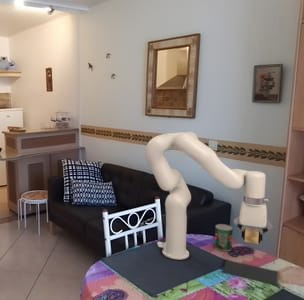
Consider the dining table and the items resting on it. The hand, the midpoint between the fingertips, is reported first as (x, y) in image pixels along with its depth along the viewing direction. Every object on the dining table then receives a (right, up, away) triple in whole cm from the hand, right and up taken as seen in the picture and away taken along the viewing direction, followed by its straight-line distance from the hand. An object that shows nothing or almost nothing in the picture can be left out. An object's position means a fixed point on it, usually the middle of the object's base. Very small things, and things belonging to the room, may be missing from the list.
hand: (251, 240), depth 138 cm
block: (0, 0, 0) cm, 0 cm away
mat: (0, -14, +1) cm, 14 cm away
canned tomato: (0, -11, +25) cm, 27 cm away
